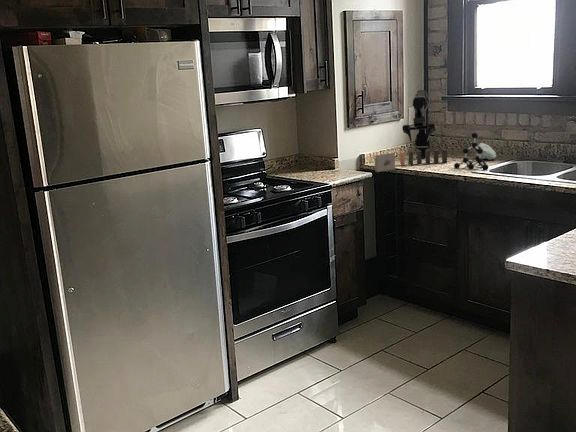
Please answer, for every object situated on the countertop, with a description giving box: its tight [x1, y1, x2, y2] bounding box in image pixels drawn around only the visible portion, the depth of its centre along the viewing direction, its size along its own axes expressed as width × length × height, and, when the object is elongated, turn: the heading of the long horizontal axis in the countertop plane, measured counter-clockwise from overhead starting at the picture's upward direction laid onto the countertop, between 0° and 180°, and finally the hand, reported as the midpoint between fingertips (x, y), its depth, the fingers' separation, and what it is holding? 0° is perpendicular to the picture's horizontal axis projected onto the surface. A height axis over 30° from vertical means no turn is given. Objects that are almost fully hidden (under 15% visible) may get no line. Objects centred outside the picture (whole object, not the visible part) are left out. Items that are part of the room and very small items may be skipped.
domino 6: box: [441, 148, 448, 164], centre depth 374 cm, size 2×5×8 cm, turn 179°
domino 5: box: [433, 149, 439, 165], centre depth 375 cm, size 2×5×8 cm, turn 179°
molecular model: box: [453, 132, 489, 171], centre depth 353 cm, size 18×20×20 cm
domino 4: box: [424, 149, 431, 165], centre depth 375 cm, size 2×5×8 cm, turn 179°
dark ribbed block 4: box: [416, 149, 423, 165], centre depth 375 cm, size 2×5×8 cm, turn 179°
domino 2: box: [408, 150, 414, 166], centre depth 375 cm, size 2×5×8 cm, turn 179°
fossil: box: [374, 152, 396, 173], centre depth 362 cm, size 12×4×10 cm, turn 116°
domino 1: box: [399, 150, 406, 166], centre depth 375 cm, size 2×5×8 cm, turn 179°
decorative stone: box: [475, 142, 497, 161], centre depth 377 cm, size 13×11×10 cm
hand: (418, 141), depth 364 cm, fingers open, 9 cm apart
